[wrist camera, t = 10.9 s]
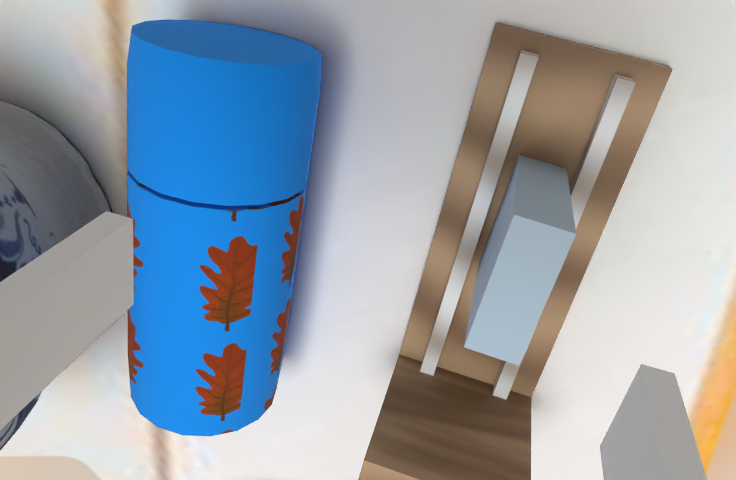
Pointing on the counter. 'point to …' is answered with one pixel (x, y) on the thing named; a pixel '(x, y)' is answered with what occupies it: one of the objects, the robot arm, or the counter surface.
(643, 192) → the counter surface
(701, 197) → the counter surface
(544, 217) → the grey rectangular block
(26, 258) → the apothecary jar
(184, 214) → the thermos
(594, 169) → the track board
